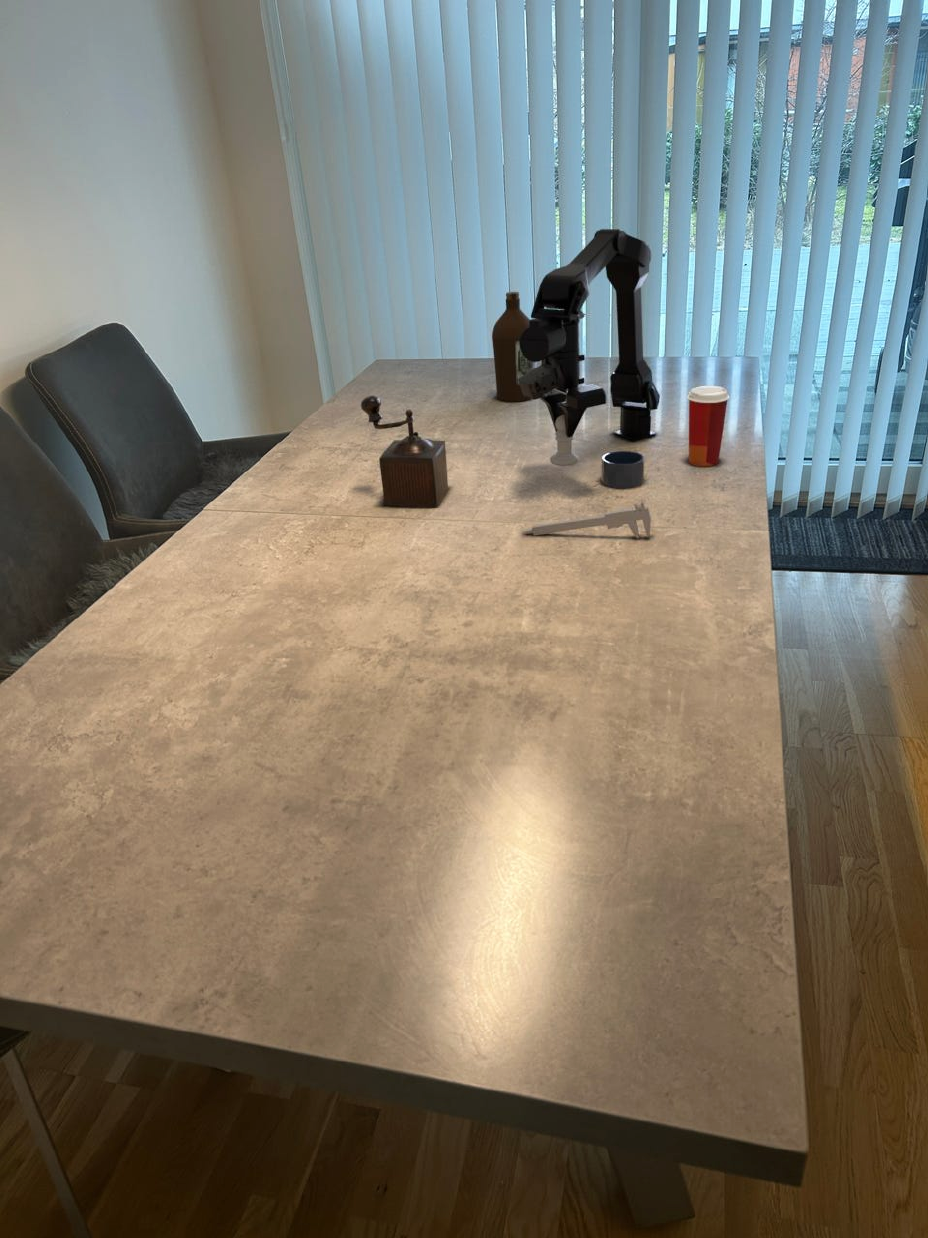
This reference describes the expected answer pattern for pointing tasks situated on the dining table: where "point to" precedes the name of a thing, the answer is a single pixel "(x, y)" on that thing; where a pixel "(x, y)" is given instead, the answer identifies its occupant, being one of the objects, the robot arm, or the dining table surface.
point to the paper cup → (706, 424)
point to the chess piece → (563, 446)
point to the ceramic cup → (622, 469)
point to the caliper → (600, 521)
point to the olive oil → (510, 351)
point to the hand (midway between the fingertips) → (564, 434)
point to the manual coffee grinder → (409, 464)
